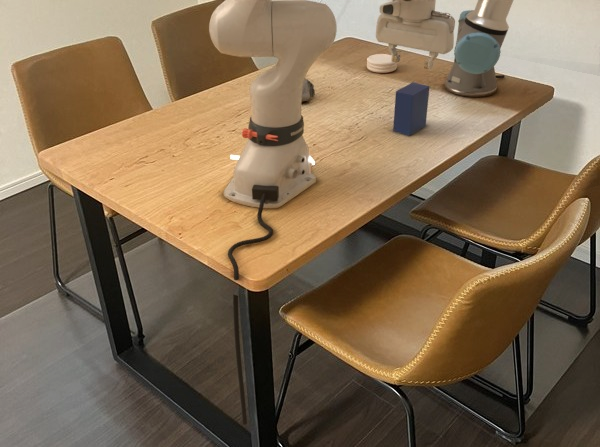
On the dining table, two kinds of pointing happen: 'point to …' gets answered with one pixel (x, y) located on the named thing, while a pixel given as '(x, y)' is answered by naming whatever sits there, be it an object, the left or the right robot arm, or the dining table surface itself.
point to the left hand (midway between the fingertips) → (411, 65)
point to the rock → (307, 90)
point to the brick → (411, 108)
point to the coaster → (381, 63)
